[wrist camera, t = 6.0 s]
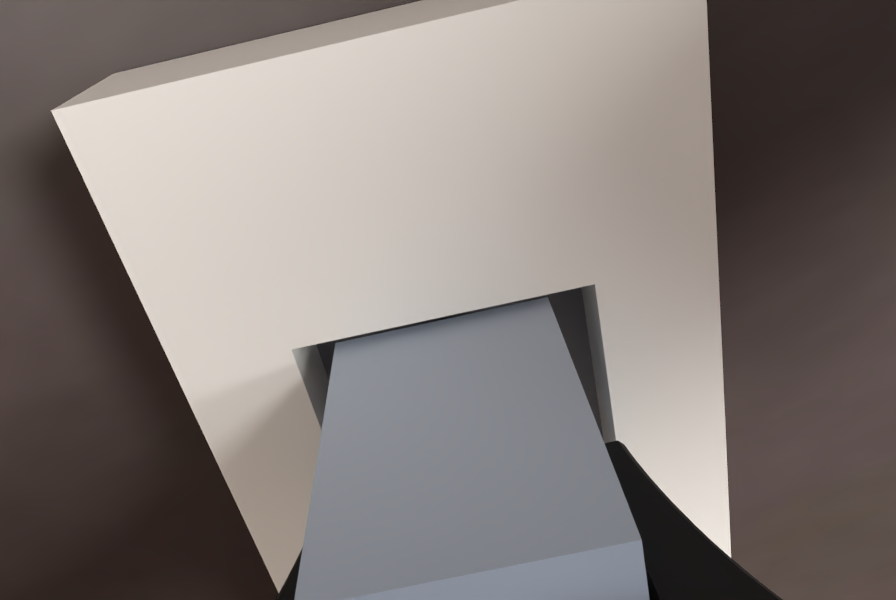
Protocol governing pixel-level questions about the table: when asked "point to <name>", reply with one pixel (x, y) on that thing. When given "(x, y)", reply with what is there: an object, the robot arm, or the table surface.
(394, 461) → the plug
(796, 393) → the table surface
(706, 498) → the power strip
